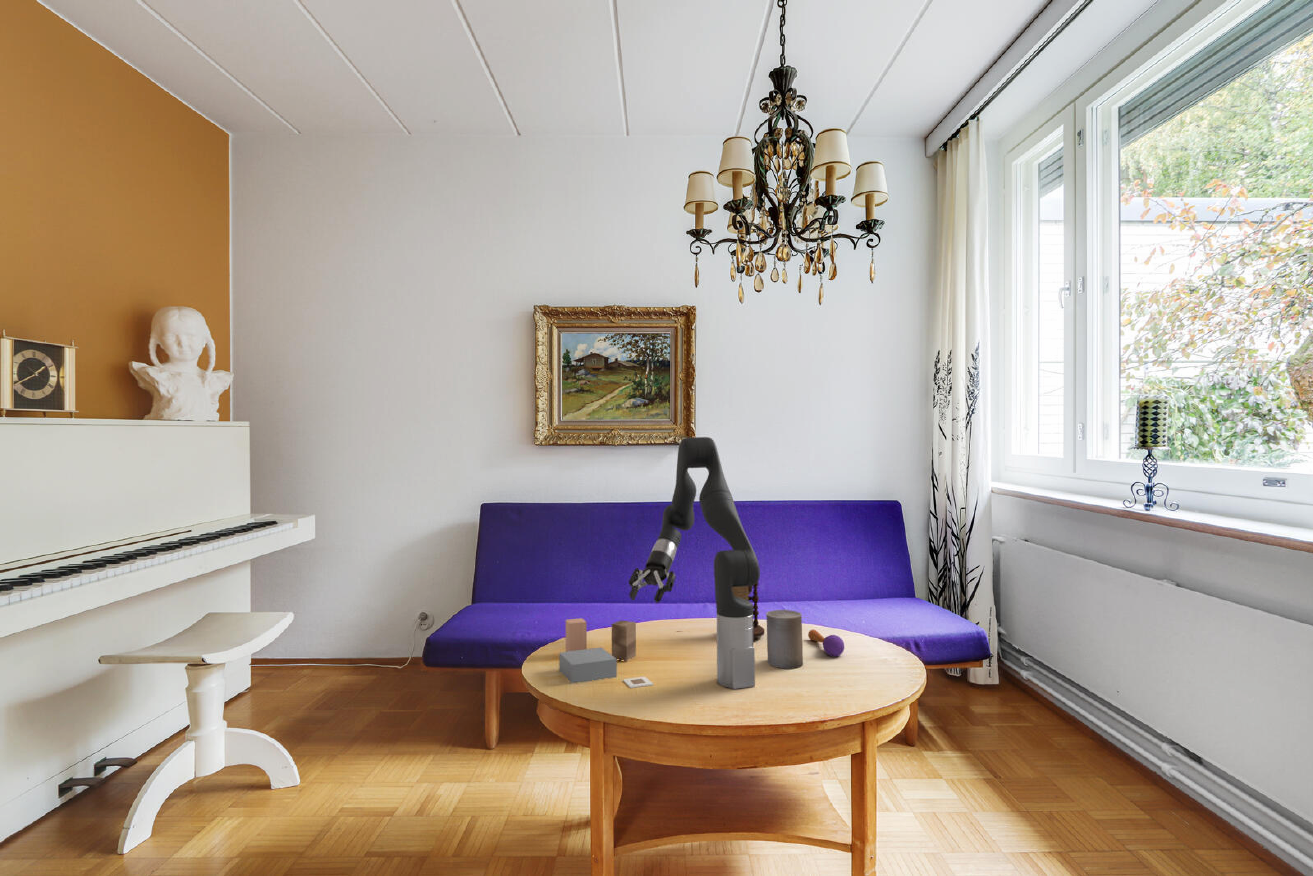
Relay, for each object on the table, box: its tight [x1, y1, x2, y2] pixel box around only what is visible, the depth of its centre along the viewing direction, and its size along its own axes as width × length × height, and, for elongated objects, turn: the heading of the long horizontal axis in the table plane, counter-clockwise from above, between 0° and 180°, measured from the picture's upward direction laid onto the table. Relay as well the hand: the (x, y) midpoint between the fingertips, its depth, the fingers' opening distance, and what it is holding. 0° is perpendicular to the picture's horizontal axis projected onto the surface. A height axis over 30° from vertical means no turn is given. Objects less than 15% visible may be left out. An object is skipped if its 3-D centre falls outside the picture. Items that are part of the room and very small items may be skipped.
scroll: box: [732, 581, 765, 642], centre depth 207 cm, size 15×15×20 cm
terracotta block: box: [565, 618, 588, 652], centre depth 188 cm, size 5×5×10 cm
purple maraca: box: [807, 629, 845, 657], centre depth 193 cm, size 6×6×20 cm
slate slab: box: [558, 647, 618, 684], centre depth 171 cm, size 12×12×5 cm
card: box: [622, 676, 654, 689], centre depth 164 cm, size 6×6×1 cm
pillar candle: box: [765, 608, 804, 669], centre depth 179 cm, size 10×10×15 cm
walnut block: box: [611, 619, 637, 662], centre depth 185 cm, size 5×5×10 cm
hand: (643, 600), depth 195 cm, fingers open, 8 cm apart
